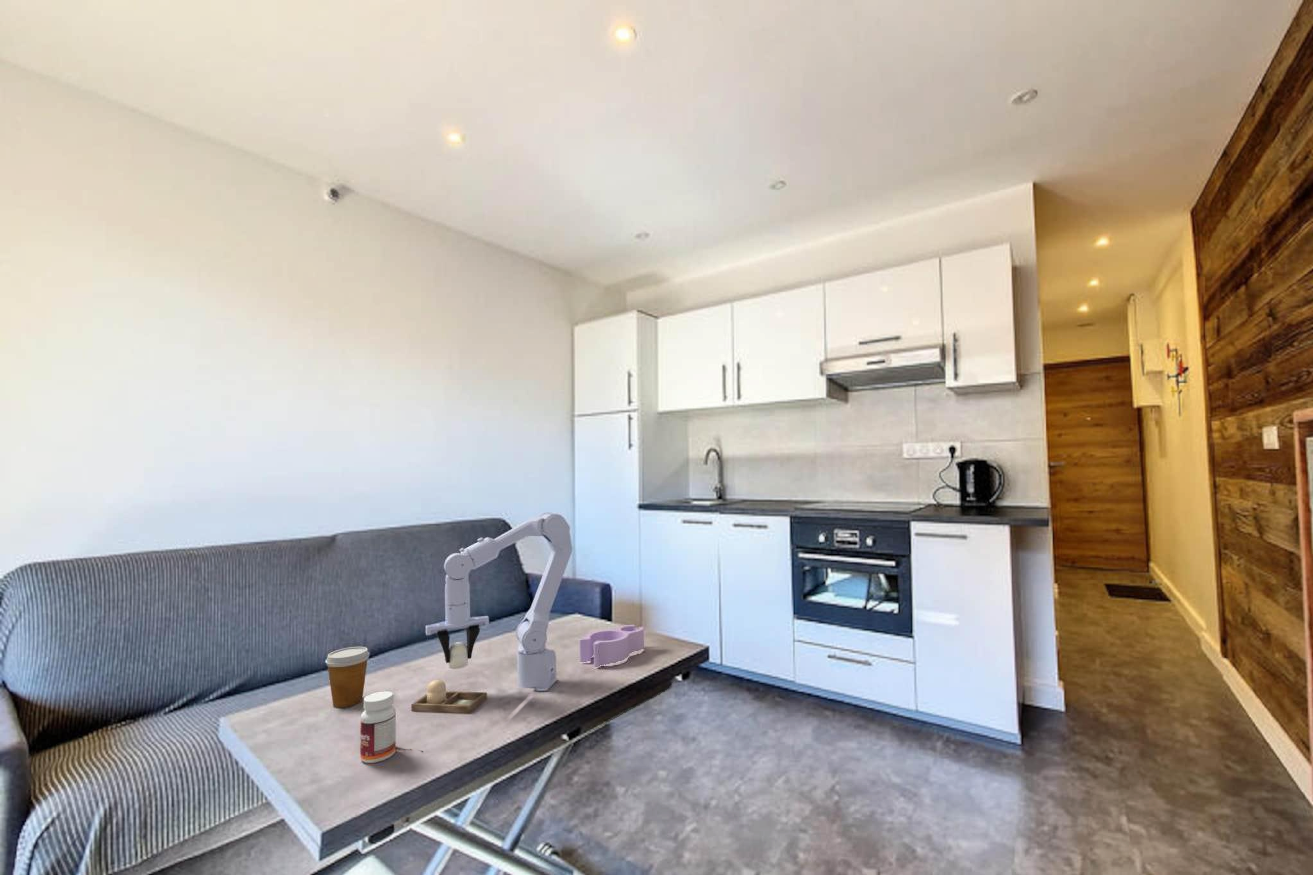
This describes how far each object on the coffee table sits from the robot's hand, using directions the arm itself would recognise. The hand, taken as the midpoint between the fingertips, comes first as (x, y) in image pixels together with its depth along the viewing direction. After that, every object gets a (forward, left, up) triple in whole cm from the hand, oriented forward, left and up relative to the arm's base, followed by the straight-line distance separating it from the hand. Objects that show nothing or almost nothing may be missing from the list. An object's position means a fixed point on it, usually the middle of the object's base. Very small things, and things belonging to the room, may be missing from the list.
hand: (458, 659), depth 133 cm
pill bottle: (+1, +27, -10) cm, 29 cm away
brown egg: (+3, +5, -9) cm, 10 cm away
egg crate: (-1, +5, -9) cm, 11 cm away
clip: (-31, -33, -10) cm, 46 cm away
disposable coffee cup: (+27, +4, -10) cm, 29 cm away
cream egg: (0, 0, -1) cm, 1 cm away
